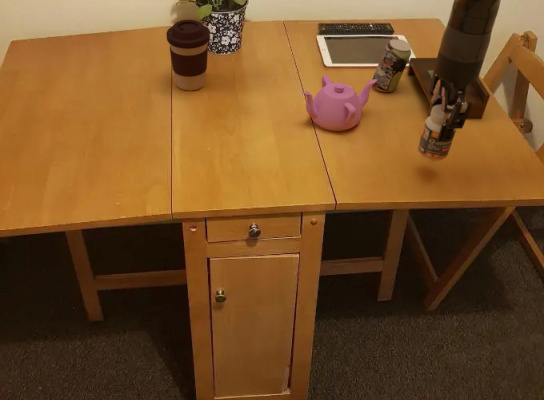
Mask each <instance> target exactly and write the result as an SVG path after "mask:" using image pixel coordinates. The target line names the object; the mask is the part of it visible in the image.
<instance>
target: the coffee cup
mask: <svg viewBox="0 0 544 400" xmlns="http://www.w3.org/2000/svg"><path fill="white" fill-rule="evenodd" d="M165 35H166V41H167V43H168V44H169V54H170V60H171V66H172V67H171V68H172V71H173V75H174V83H175V85H176V87H177V88H179V89H181V90H184V91H196V90H199V89H201V88H203V87H204V86H205V84H206V78H207V77H206V75H207V69H208V56H209V55H208V54H209V53H208V52H209V45H208V43H209V42H210V39H211V32H210V29H209V28H208V27H207V26H205V25H203V24H202V22H201V21H199V20H195V19H181V20H178V21H177V22H175V23H174V24H173V25H172V26H171V27H170V28H168V29H167V30H166V34H165Z"/></svg>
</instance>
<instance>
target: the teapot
mask: <svg viewBox="0 0 544 400" xmlns="http://www.w3.org/2000/svg"><path fill="white" fill-rule="evenodd" d="M372 79H373V78H372ZM372 79H371V80H369V81H367V83H366V84H365V85H364V87H363V89H362V91H361V92H360V93H359V94H357V92H356V91H355V89H354V88H353V86H350V85H349V84H347V83H343V82H332V80H331V78H330V77H329V76H328V75H327V74H324V75H322V77H321V89H320V90H319V91H318V92H317V93H316V94H315V96H314V97H313V94H312V93H311V92H308V91H301V93H302V94H303V95H304V96H305V97H306V101H305V110H306V113H307V115H308V116H309V117H311V119H312V121H313V122H314V123H315V124H316V125H317V126H318V127H320V128H322V129H324V130H327V131H332V132H344V131H348V130H350V129H352V128H353V127H355V126H357V125H358V123H359V122H360V121H361V119H362V115H363V110H362V109H363V108H364V107H365V106H366V105H367V103H368V101H369V97H370V92H371V89H372V87H373V86H374V85H373V84H374V83H375V82H376V81H377V79H373V80H372Z"/></svg>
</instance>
